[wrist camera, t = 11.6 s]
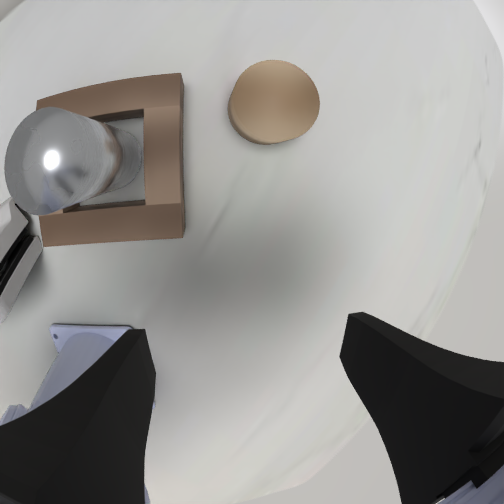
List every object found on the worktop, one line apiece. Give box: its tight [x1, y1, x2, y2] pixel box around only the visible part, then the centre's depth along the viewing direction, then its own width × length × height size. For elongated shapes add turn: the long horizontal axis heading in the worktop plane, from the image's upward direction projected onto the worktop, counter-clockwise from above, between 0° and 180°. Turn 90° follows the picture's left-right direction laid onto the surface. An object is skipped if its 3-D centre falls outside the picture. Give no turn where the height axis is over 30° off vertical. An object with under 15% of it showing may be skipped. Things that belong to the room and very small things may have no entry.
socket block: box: [36, 73, 185, 247], centre depth 15 cm, size 10×10×3 cm
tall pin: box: [5, 107, 141, 215], centre depth 12 cm, size 4×4×9 cm
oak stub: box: [228, 60, 320, 145], centre depth 15 cm, size 5×5×4 cm
